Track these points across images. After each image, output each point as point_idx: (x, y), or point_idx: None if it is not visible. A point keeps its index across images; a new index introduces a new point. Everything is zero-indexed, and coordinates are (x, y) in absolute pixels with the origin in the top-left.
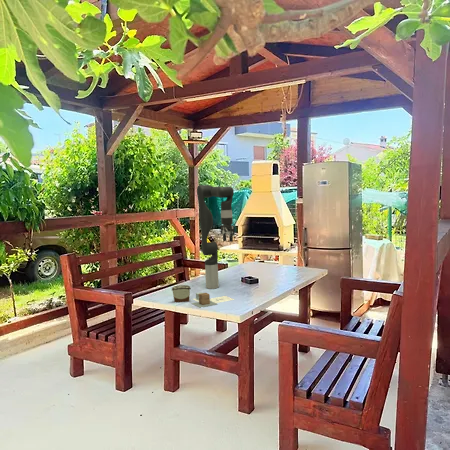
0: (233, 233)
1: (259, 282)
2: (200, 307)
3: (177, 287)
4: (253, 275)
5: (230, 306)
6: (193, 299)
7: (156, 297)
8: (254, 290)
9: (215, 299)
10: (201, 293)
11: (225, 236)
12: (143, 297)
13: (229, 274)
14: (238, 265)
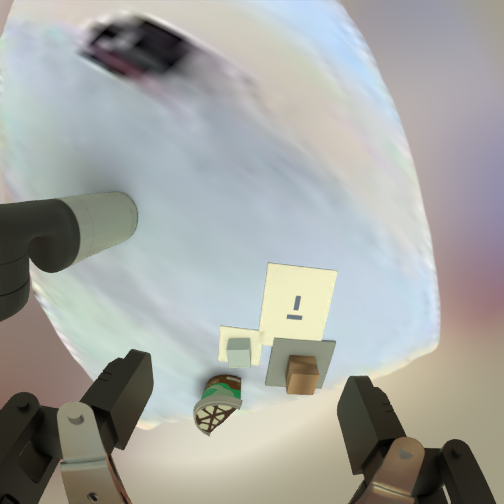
0: (458, 470)
1: (189, 35)
2: (321, 387)
3: (202, 419)
4: (97, 15)
5: (376, 322)
6: (226, 360)
7: None
8: (281, 121)
9: (282, 316)
10: (290, 386)
11: (123, 407)
12: None
13: (32, 76)
14: (5, 28)
